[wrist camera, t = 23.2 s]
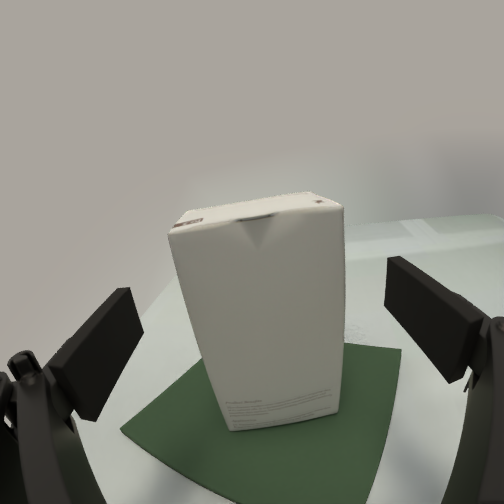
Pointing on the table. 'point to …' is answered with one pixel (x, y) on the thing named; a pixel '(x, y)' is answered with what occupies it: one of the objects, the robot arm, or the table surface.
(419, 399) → the table surface
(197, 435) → the mat
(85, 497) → the robot arm
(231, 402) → the cosmetic box
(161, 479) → the table surface
